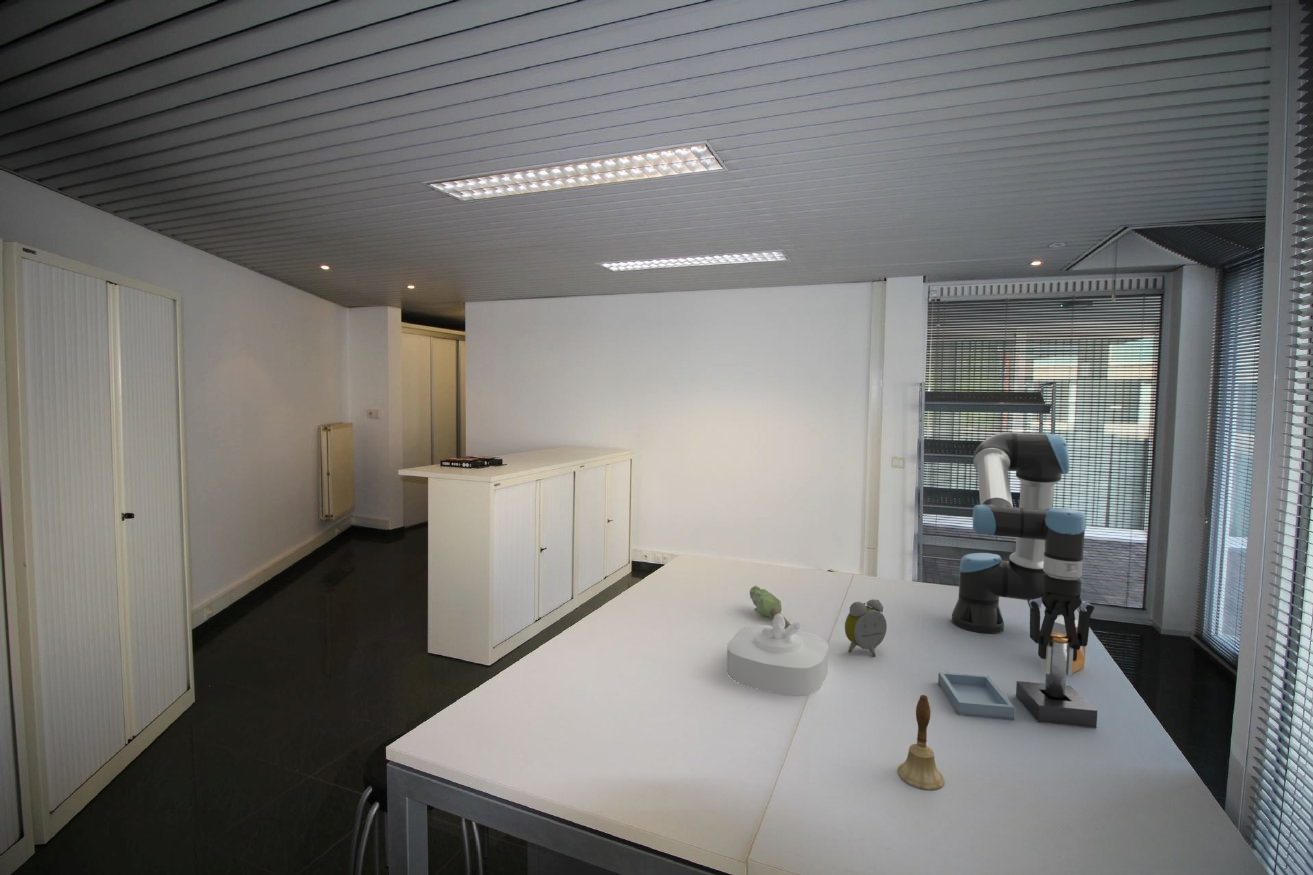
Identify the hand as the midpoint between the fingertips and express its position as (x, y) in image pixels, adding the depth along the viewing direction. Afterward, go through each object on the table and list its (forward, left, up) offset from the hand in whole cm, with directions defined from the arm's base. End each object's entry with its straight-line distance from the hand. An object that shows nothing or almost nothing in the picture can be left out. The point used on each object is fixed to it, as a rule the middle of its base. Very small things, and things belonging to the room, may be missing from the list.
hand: (1056, 672), depth 141 cm
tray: (-2, -17, -9) cm, 20 cm away
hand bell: (+32, -38, -10) cm, 51 cm away
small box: (-27, +15, -10) cm, 32 cm away
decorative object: (-48, -65, -10) cm, 81 cm away
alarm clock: (-26, -38, -10) cm, 47 cm away
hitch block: (0, 0, -9) cm, 9 cm away
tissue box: (-9, -64, -10) cm, 65 cm away
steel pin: (0, 0, -5) cm, 5 cm away
